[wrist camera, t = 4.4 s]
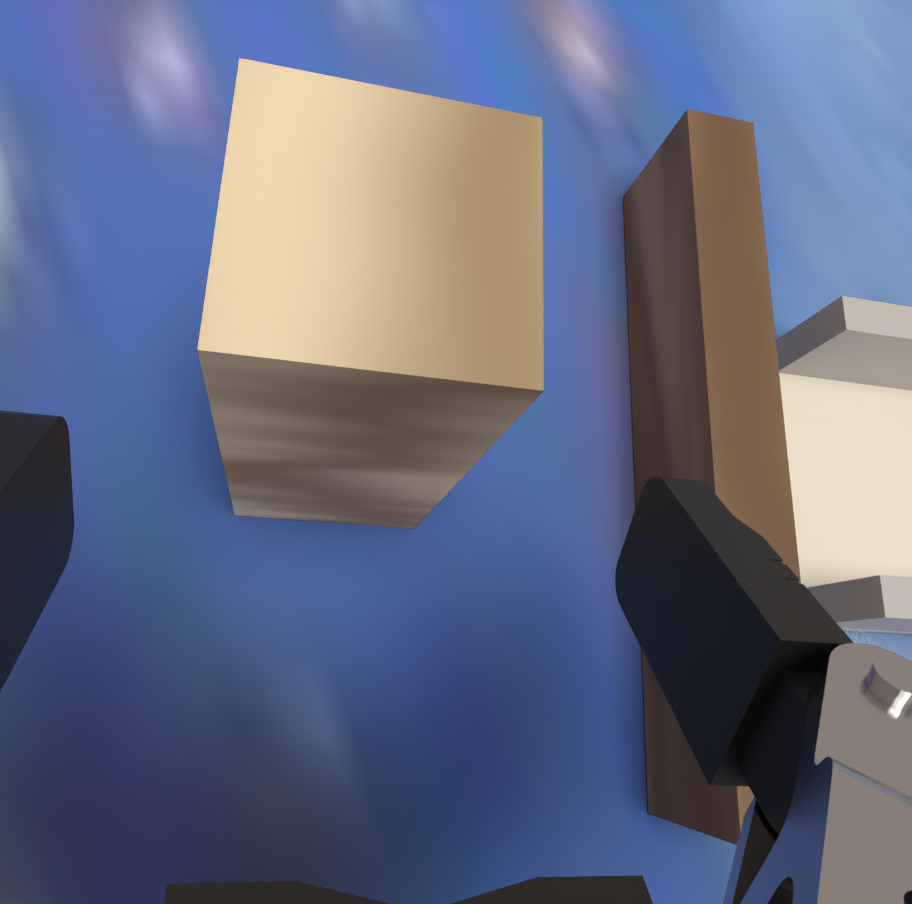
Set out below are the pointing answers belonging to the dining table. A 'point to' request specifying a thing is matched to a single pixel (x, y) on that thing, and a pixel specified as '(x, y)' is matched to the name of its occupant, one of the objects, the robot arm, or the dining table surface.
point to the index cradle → (852, 459)
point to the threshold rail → (704, 388)
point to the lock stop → (368, 295)
